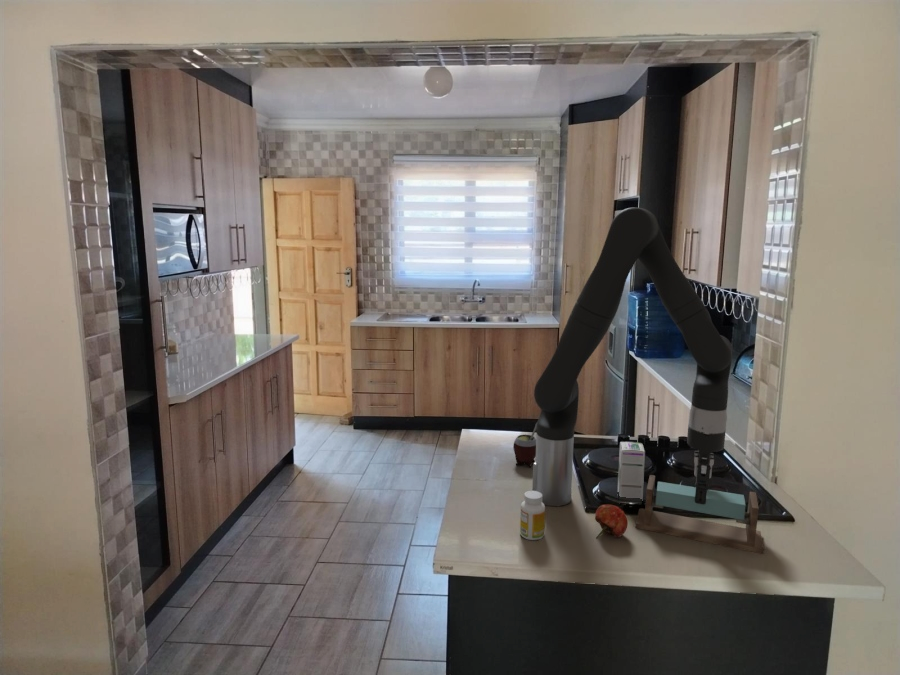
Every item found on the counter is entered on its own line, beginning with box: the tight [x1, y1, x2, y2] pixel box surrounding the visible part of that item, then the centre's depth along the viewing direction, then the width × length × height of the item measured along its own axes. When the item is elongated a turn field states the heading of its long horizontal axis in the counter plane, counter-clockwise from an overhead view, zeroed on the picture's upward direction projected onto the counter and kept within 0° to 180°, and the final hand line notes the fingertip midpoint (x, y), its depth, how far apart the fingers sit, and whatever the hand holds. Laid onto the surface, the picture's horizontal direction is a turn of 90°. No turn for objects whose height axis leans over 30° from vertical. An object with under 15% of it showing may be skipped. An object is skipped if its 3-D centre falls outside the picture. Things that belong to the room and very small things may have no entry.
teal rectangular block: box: [655, 481, 747, 520], centre depth 128 cm, size 18×5×4 cm, turn 67°
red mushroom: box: [594, 503, 629, 539], centre depth 128 cm, size 7×7×10 cm
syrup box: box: [617, 441, 646, 500], centre depth 143 cm, size 6×6×14 cm
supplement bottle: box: [519, 490, 546, 541], centre depth 127 cm, size 5×5×10 cm
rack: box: [635, 474, 765, 554], centre depth 129 cm, size 26×8×10 cm, turn 66°
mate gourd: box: [512, 422, 537, 469], centre depth 165 cm, size 8×8×15 cm
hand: (700, 496), depth 128 cm, fingers open, 5 cm apart
